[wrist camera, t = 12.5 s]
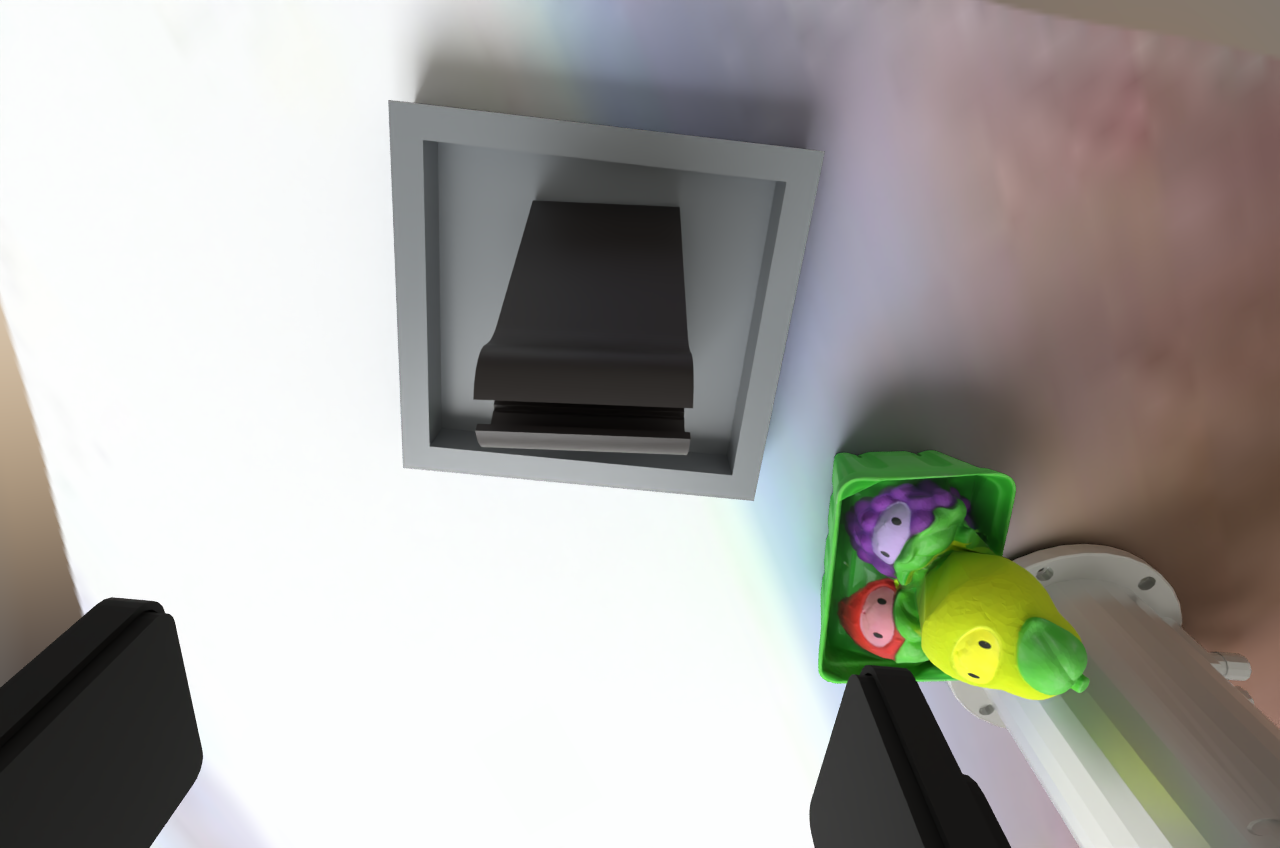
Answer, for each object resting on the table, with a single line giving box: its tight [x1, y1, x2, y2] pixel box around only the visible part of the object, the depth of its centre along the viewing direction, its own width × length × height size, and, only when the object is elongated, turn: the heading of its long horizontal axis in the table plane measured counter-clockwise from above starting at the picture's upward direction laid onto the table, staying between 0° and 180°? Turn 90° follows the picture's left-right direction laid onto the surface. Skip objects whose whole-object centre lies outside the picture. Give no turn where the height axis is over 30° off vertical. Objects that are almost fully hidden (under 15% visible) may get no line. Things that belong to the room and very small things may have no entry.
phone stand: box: [473, 200, 694, 455], centre depth 24 cm, size 9×6×12 cm, turn 177°
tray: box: [388, 100, 825, 501], centre depth 29 cm, size 16×15×3 cm
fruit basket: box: [818, 450, 1090, 700], centre depth 30 cm, size 11×9×11 cm
